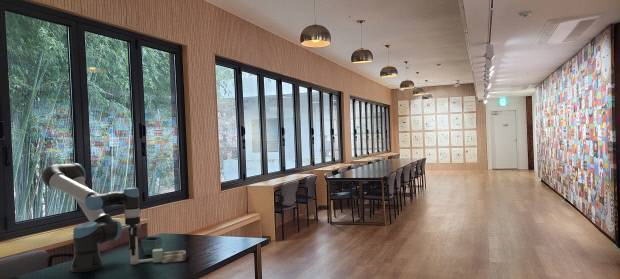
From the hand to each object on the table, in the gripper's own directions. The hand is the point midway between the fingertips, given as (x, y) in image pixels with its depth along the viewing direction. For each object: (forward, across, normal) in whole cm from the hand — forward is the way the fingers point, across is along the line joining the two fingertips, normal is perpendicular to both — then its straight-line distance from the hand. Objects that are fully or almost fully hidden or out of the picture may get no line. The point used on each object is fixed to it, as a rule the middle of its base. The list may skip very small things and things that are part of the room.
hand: (134, 260), depth 243 cm
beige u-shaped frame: (+2, 0, -21) cm, 21 cm away
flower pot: (+2, +19, -8) cm, 21 cm away
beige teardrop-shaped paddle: (+2, 0, -6) cm, 7 cm away
